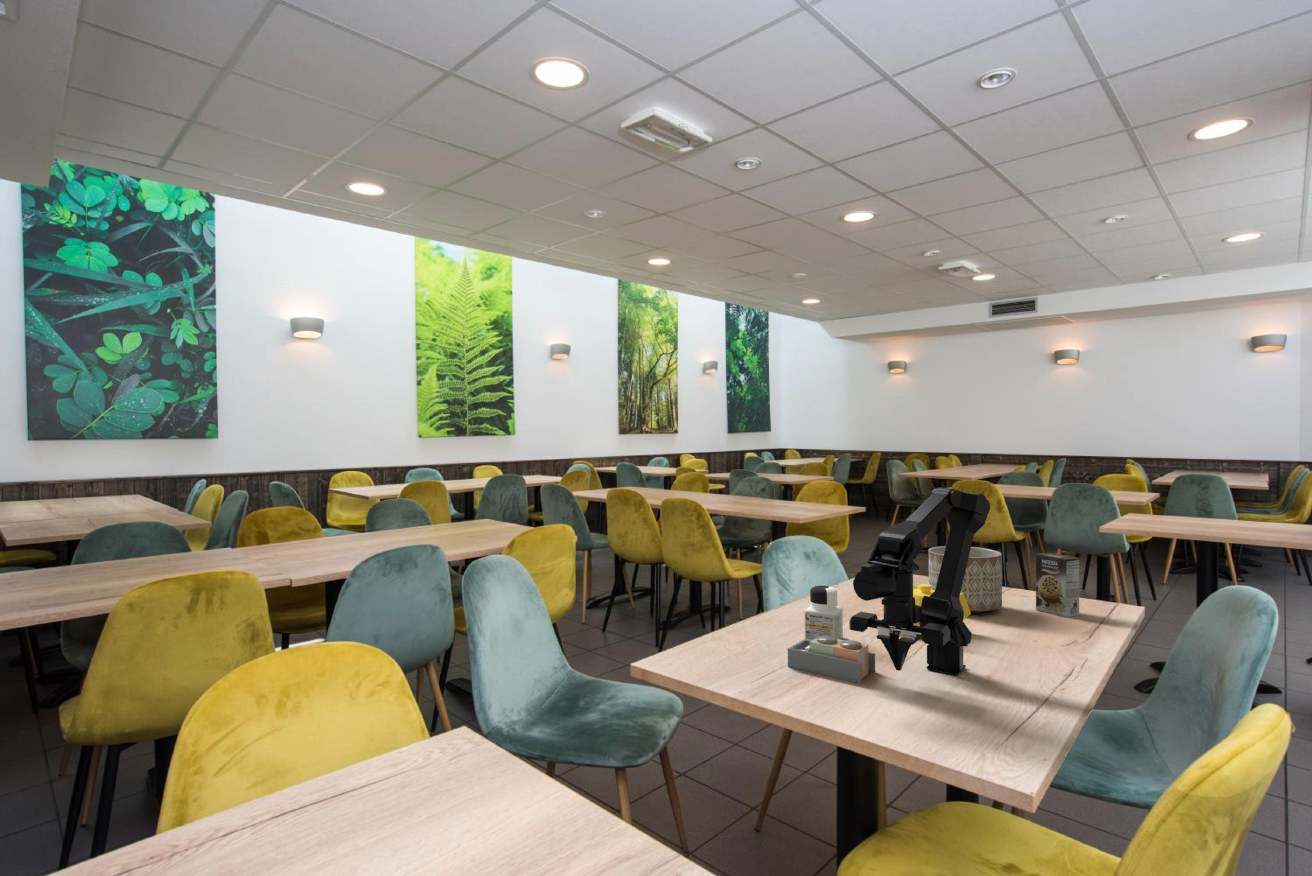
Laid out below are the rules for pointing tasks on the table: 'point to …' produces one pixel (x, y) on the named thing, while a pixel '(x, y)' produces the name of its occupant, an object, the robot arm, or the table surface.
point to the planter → (974, 577)
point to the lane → (827, 663)
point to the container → (823, 614)
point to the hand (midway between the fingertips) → (898, 670)
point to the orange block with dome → (853, 653)
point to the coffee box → (1057, 584)
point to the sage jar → (824, 645)
